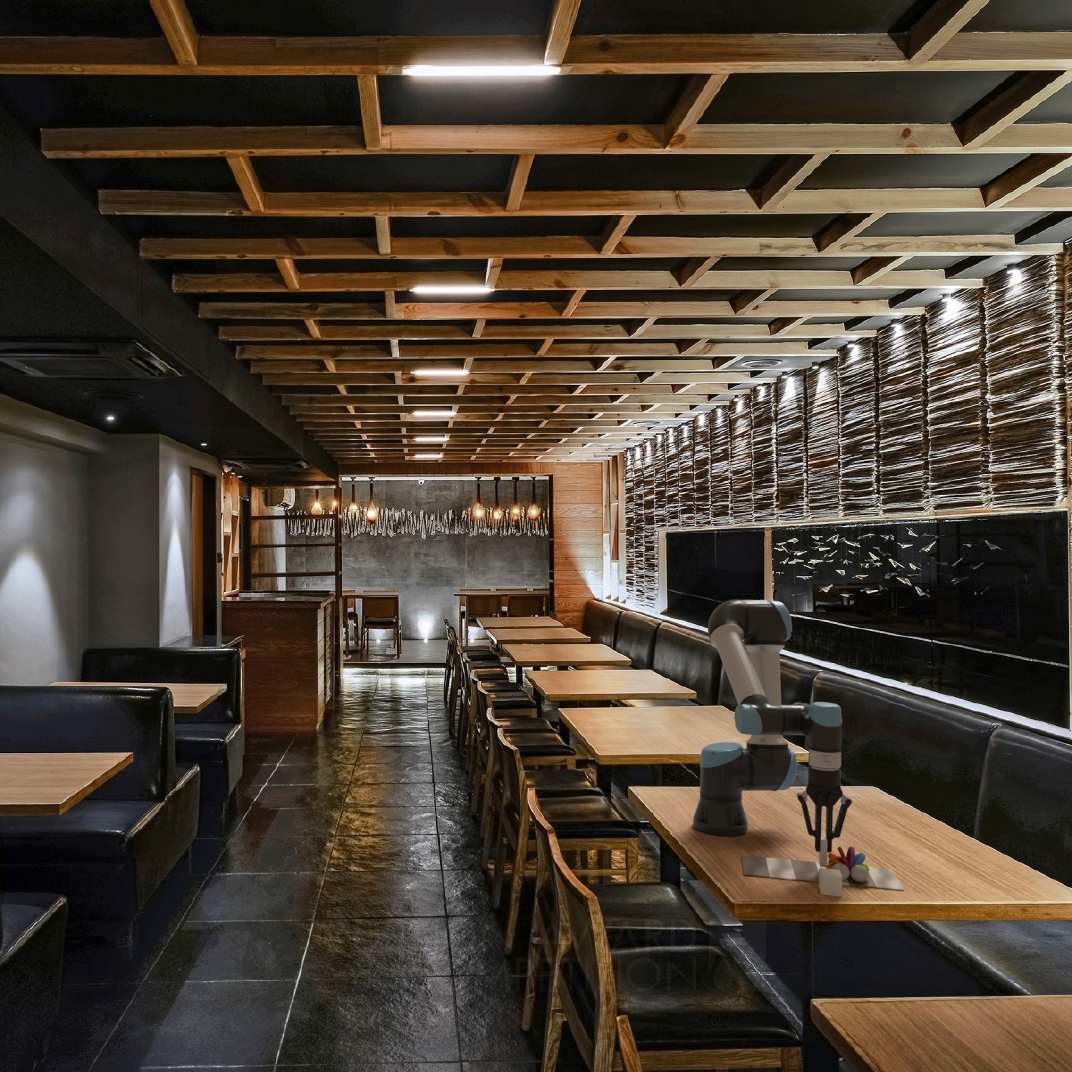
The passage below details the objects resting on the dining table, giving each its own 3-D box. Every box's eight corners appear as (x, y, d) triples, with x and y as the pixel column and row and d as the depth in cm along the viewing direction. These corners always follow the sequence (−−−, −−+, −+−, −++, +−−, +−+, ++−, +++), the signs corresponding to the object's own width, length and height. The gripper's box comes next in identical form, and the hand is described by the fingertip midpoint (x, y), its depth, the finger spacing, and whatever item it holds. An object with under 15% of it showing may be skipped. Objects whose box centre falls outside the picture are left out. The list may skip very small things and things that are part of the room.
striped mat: (743, 875, 204) (743, 874, 204) (741, 856, 218) (741, 855, 218) (904, 890, 197) (904, 889, 197) (891, 870, 210) (891, 868, 210)
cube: (820, 894, 193) (821, 874, 194) (818, 887, 198) (819, 867, 198) (841, 896, 192) (842, 876, 193) (839, 889, 197) (839, 869, 197)
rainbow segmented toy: (823, 869, 209) (823, 839, 209) (865, 872, 207) (865, 842, 207) (829, 881, 200) (830, 850, 201) (872, 885, 199) (873, 854, 199)
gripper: (798, 768, 205) (796, 867, 205) (855, 772, 203) (853, 873, 202) (795, 762, 213) (793, 857, 212) (850, 765, 210) (848, 862, 209)
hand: (823, 865), depth 207 cm, fingers closed
